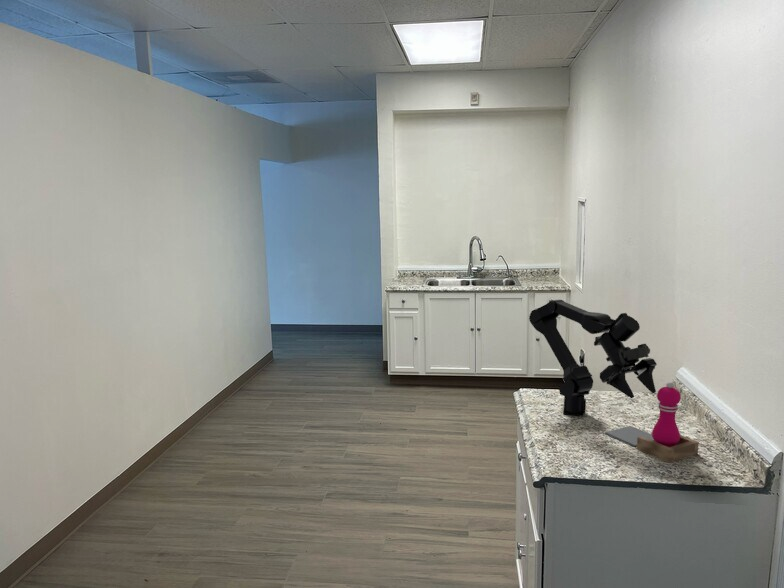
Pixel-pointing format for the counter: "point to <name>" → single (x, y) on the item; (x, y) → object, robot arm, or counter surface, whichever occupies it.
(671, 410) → the pepper mill
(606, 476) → the counter surface
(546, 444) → the counter surface
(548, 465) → the counter surface
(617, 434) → the rubber mat
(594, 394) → the counter surface
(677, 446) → the walnut cradle
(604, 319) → the robot arm
